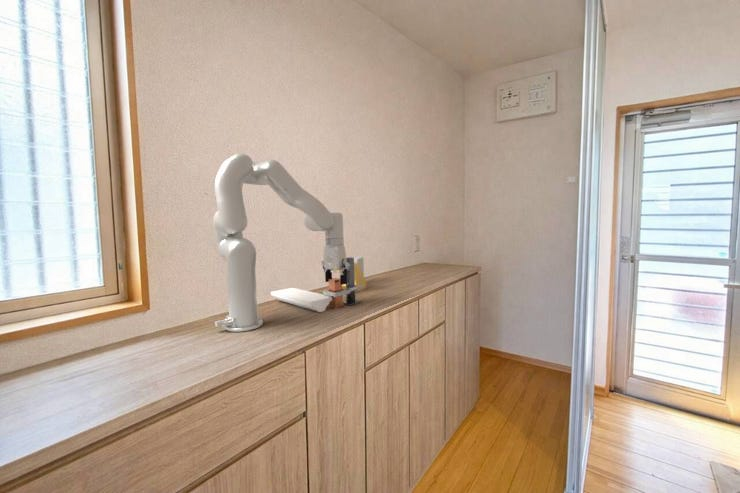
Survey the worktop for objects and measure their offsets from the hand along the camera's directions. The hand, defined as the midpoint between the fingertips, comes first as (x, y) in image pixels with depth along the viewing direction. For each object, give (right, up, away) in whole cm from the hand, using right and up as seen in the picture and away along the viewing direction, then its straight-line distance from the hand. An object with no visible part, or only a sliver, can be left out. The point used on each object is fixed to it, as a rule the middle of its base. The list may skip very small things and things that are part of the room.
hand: (336, 282), depth 142 cm
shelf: (-16, -11, +5) cm, 20 cm away
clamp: (+4, -8, +31) cm, 32 cm away
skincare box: (+7, -6, +45) cm, 46 cm away
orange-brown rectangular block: (0, -10, +1) cm, 10 cm away
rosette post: (+3, -10, +4) cm, 11 cm away
